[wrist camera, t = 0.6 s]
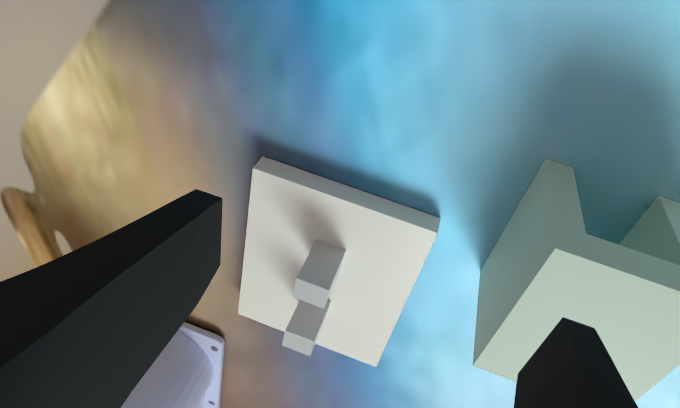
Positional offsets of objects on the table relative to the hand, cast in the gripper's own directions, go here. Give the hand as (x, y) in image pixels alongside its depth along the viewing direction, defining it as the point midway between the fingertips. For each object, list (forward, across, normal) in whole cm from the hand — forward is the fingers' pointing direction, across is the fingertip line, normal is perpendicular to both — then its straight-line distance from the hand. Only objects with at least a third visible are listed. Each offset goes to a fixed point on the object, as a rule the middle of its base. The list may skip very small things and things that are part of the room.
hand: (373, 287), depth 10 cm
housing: (+9, -7, +4) cm, 12 cm away
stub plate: (+9, +2, +9) cm, 13 cm away
